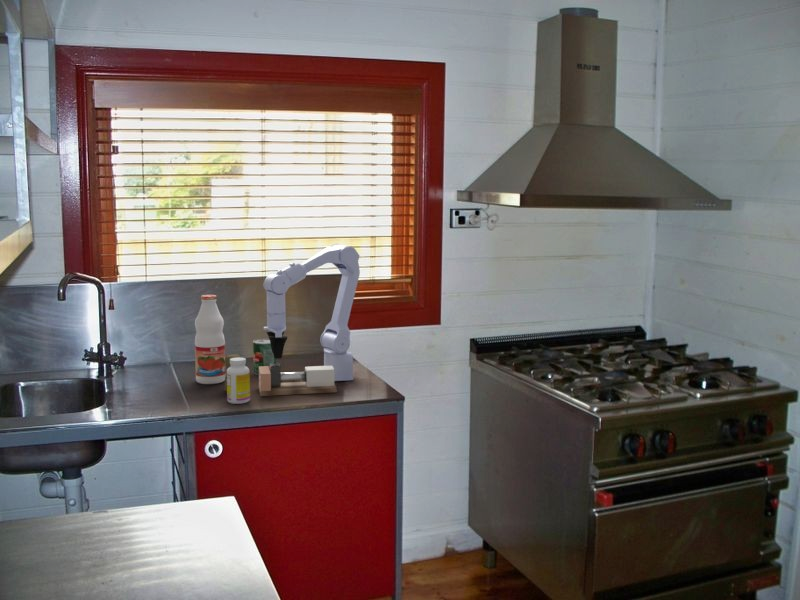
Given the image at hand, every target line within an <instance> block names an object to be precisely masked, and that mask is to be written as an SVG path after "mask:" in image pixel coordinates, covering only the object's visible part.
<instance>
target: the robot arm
mask: <svg viewBox="0 0 800 600" xmlns="http://www.w3.org/2000/svg"><path fill="white" fill-rule="evenodd" d="M359 261H360V255H359V252H358V251H357V249H356V248H355V247H353V246H351V245H342V244H339V243H338V244H337V243H334V244H333V243H332V244H331V245H330V246H327V247H325V248H323V250H321V251H319V252H318V253H315V254H314V255H313V256H312V257H309V258H308V259H307V260H305V261H304V262H302V263H301V262H290V263H289V264H288V266H287V267H285V268H284V269H279V270H277V271H276V274H275V273H270V274H268V275H267V276H266V278H265V279H264V282H263V283H262V287H263V289H264V290H265V292H266V326H263V330H264V331H265V332H266V334H267V337H268V339H270V344H271V349H272V353H274V357H275V359H282V358H283V354H284V347H285V344H286V343H287V340H288V336H287V335H286V336H284V334H285V332H286V330H287V325H286V322H287V321H286V293H287V292H288V290H289V288H290V287H292V286H293V285H296V284H297V283H299V282H301V281H302V280H304V279H306V278H307V274H308V273H309V272H312V271H313V270H315V269H317V268H319V267H322V266H323V265H325V264H326V265H327V264H332V265H334V266H335V267H336V268H337V270H338V271H339V272H340V273H341V279H340V283H339V287H338V291H337V296H336V300H335V304H334V307H333V308H334V309H333V312H332V315H331V316H332V317H331V320H330V322H328V324H326V325H325V328H324V330H323V332H322V333H321V335H320V339H319V342H320V344H321V346H322V347H323V353H324V354H323V356H324V357H323V366H333V368H334V382H342V381H344V382H345V381H354V358H353V357H354V355H353V352H352V351H348V350H349V348H350V346H351V340H350V339H351V338H350V336H351V330H350V328H349V326H348V324H349V319H350V316H351V310H352V306H353V303H354V298H355V295H356V291H357V286H358V282H359V278H360V274H361V273H360V272H361V271H360V265H359Z"/></svg>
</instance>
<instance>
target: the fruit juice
mask: <svg viewBox="0 0 800 600" xmlns="http://www.w3.org/2000/svg"><path fill="white" fill-rule="evenodd" d="M217 299H218V297H217V295H215V294H202V295H201V296H200V301H201V305H200V308H199V310H198V313H197V316H196V318H195V319H194V327H195V331H196V332H195V337H194V356H195V360H194V361H195V362H194V363H195V365H194V366H195V381H196V383H198V384H201V385H215V384H220V383H223V382H225V377H226V364H225V358H226V341H225V339H226V338H225V335H224V332H223V329H224V325H225V321H224V318H223V316H222V314H221V313H220V310H219V307H218V305H217V303H216V302H217Z"/></svg>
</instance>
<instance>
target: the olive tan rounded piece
mask: <svg viewBox="0 0 800 600" xmlns="http://www.w3.org/2000/svg"><path fill="white" fill-rule="evenodd" d="M237 357H240V358H242V356H241V355H239V354H233V353H232V354H228V355H225V366H226V367H225V381H224V385H223V386H224V387H223V390H224V391H225V392H227V369H228V368H229V367H231V365H230V359H231V358H237Z"/></svg>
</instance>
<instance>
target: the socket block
mask: <svg viewBox="0 0 800 600" xmlns="http://www.w3.org/2000/svg"><path fill="white" fill-rule="evenodd" d="M258 383H259V385H260V389H261V391H271V373H270V370H269V366H259V375H258Z"/></svg>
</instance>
